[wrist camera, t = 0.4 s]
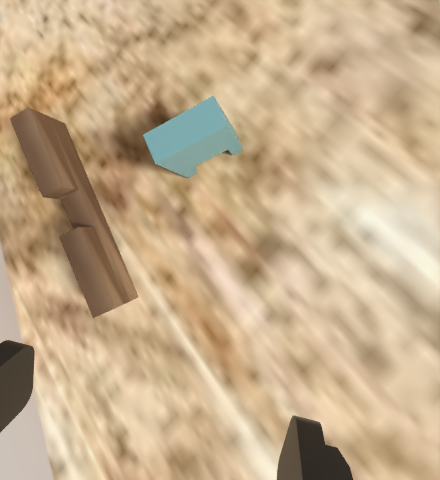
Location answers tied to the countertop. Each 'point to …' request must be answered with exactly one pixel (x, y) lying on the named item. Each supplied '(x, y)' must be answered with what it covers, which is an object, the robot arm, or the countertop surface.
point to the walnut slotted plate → (75, 211)
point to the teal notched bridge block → (192, 138)
